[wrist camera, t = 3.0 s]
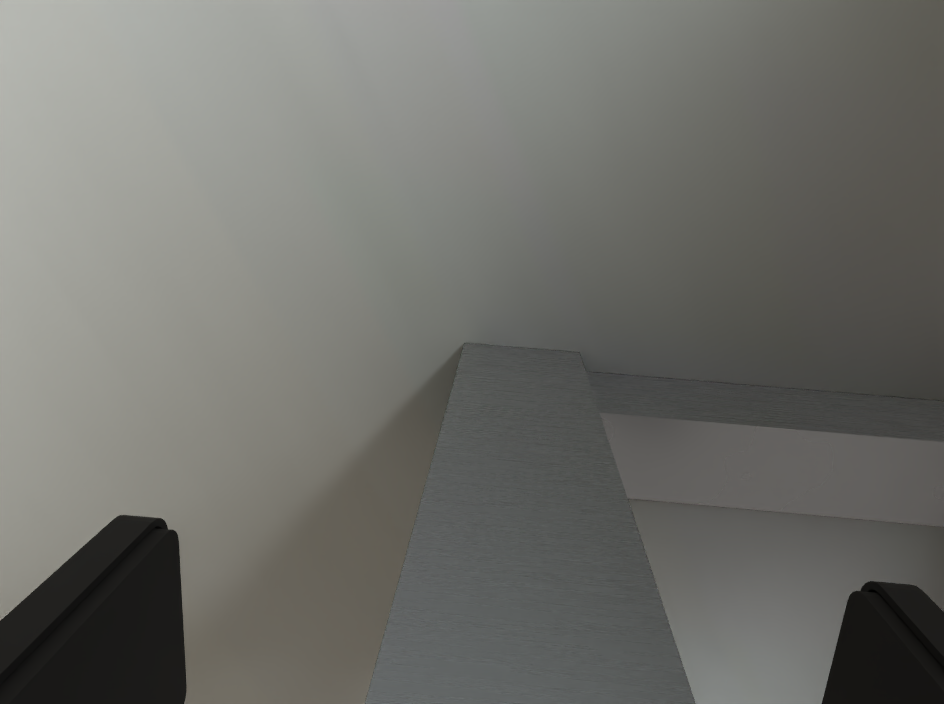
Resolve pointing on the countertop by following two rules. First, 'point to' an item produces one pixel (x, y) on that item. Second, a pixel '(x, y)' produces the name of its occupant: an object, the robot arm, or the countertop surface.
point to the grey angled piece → (612, 517)
